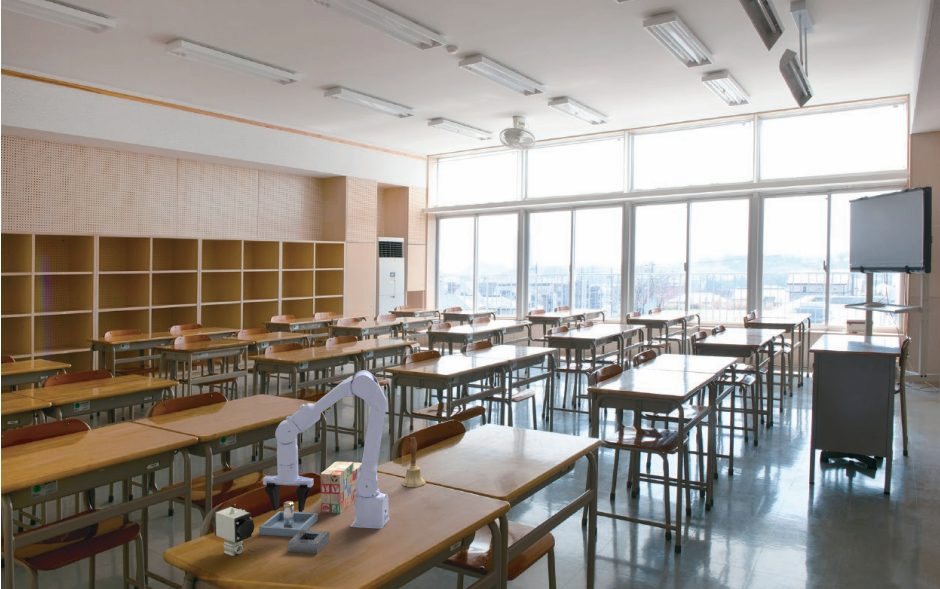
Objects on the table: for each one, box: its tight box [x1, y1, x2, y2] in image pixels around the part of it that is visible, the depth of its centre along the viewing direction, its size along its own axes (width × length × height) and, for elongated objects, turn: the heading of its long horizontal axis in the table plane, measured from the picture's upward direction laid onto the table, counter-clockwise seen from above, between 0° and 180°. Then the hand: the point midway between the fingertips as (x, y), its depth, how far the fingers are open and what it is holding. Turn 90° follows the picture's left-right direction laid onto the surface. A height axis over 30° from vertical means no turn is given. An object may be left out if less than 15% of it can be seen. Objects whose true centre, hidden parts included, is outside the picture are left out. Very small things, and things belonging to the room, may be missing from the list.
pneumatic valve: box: [211, 506, 255, 556], centre depth 171 cm, size 6×12×12 cm, turn 57°
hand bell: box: [401, 436, 426, 488], centre depth 224 cm, size 8×8×16 cm
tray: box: [258, 510, 319, 538], centre depth 186 cm, size 12×12×2 cm
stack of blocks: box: [320, 461, 362, 514], centre depth 208 cm, size 21×6×12 cm, turn 170°
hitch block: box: [287, 529, 330, 554], centre depth 174 cm, size 8×8×3 cm
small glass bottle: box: [283, 500, 295, 528], centre depth 186 cm, size 3×3×7 cm
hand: (288, 510), depth 186 cm, fingers open, 7 cm apart
